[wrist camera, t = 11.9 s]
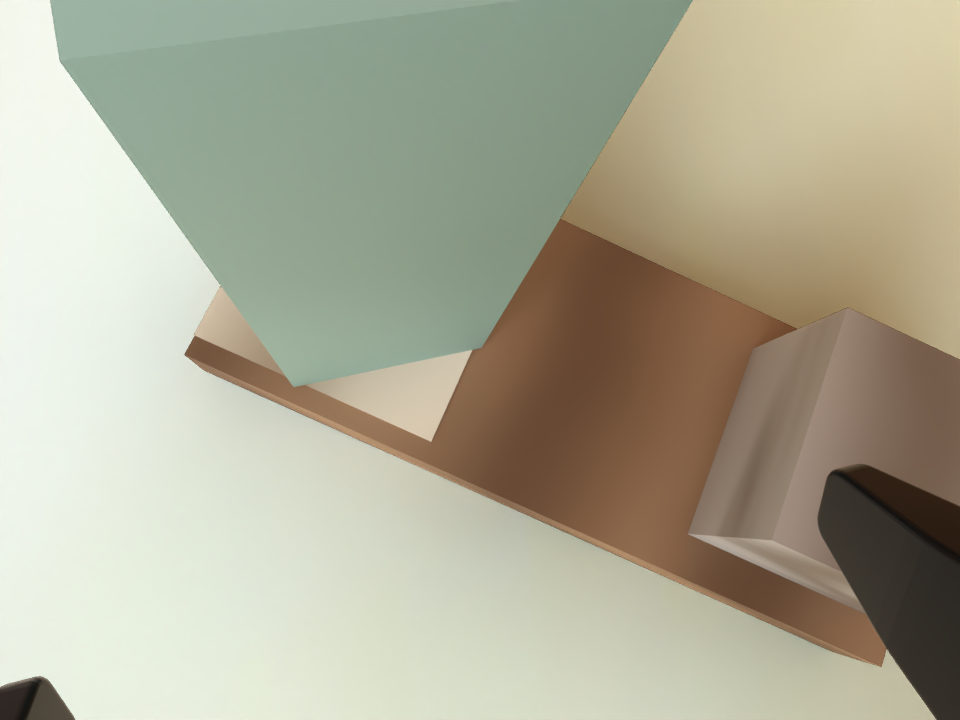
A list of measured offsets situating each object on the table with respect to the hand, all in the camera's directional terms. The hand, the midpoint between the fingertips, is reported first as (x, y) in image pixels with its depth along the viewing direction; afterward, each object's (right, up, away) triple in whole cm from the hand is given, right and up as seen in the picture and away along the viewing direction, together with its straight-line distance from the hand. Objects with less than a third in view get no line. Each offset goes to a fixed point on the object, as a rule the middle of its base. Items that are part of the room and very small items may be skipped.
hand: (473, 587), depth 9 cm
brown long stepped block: (+3, +2, +12) cm, 12 cm away
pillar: (-3, +5, +10) cm, 11 cm away
